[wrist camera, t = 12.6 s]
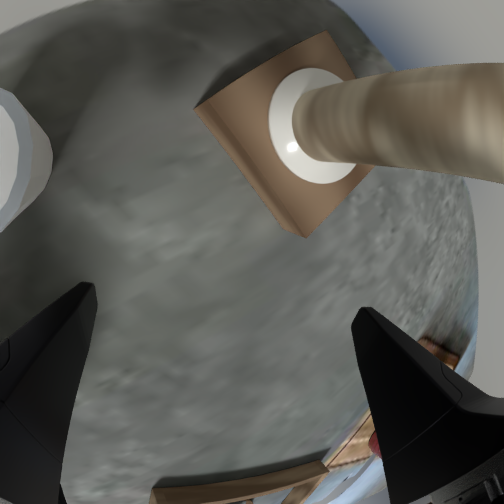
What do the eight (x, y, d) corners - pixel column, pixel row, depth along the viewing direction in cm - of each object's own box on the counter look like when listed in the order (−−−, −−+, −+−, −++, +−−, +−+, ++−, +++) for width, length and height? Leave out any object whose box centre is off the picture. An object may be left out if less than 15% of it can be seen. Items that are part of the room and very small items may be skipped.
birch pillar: (354, 156, 20) (533, 180, 8) (298, 167, 18) (512, 198, 7) (344, 89, 18) (524, 75, 7) (285, 89, 16) (498, 49, 5)
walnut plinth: (283, 229, 23) (309, 239, 20) (193, 109, 17) (209, 98, 14) (365, 148, 24) (394, 148, 21) (303, 40, 19) (330, 28, 16)
